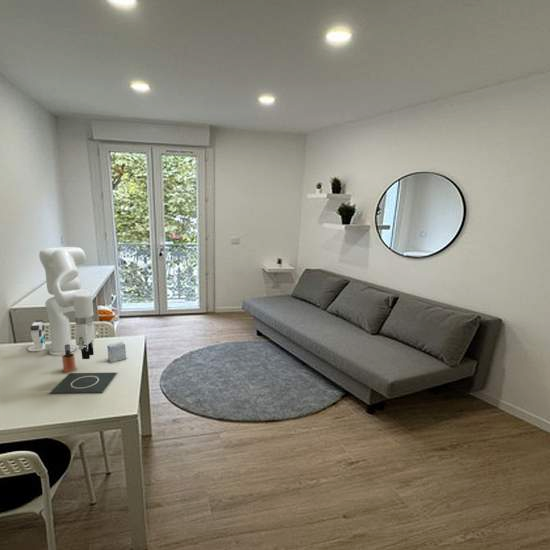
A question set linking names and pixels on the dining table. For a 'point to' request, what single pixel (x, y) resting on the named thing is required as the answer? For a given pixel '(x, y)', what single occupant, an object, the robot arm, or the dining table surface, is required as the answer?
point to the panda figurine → (38, 336)
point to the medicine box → (116, 352)
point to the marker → (67, 351)
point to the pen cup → (68, 363)
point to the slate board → (83, 383)
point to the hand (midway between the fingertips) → (88, 356)
